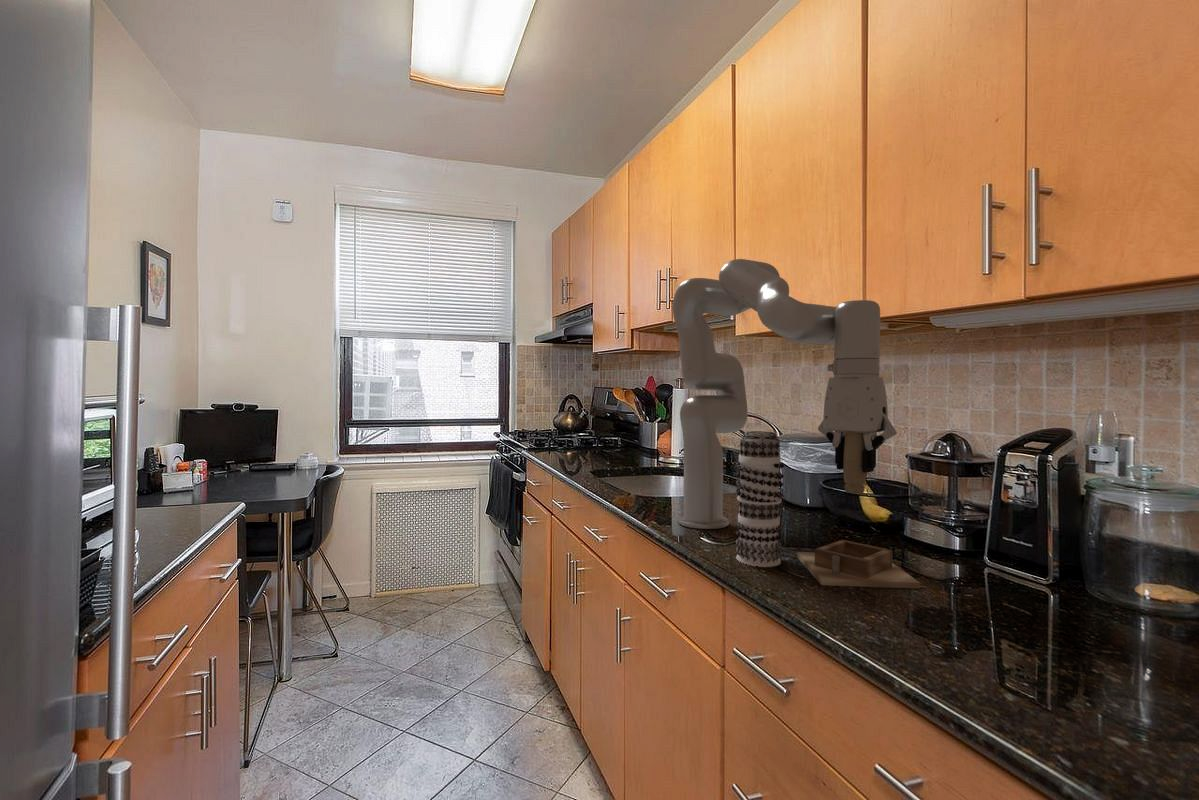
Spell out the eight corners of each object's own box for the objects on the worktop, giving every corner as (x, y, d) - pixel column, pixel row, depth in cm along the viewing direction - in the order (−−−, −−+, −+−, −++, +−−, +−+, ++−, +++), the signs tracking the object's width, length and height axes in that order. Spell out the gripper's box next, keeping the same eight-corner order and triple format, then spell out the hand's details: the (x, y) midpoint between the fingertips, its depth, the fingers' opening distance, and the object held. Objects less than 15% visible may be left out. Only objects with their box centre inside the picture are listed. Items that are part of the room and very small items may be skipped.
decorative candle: (765, 551, 115) (767, 429, 115) (793, 565, 106) (794, 433, 106) (725, 555, 113) (726, 430, 112) (750, 569, 104) (751, 434, 103)
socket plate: (796, 557, 112) (797, 537, 111) (880, 559, 110) (881, 539, 110) (821, 585, 96) (821, 561, 96) (919, 588, 94) (920, 564, 94)
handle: (872, 496, 99) (873, 411, 98) (833, 492, 102) (834, 410, 102) (875, 492, 103) (876, 410, 103) (837, 489, 106) (838, 409, 106)
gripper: (802, 370, 106) (801, 467, 106) (895, 368, 93) (894, 478, 94) (823, 371, 111) (822, 463, 111) (914, 369, 98) (912, 473, 98)
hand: (854, 469), depth 102 cm, fingers closed on handle, 4 cm apart
